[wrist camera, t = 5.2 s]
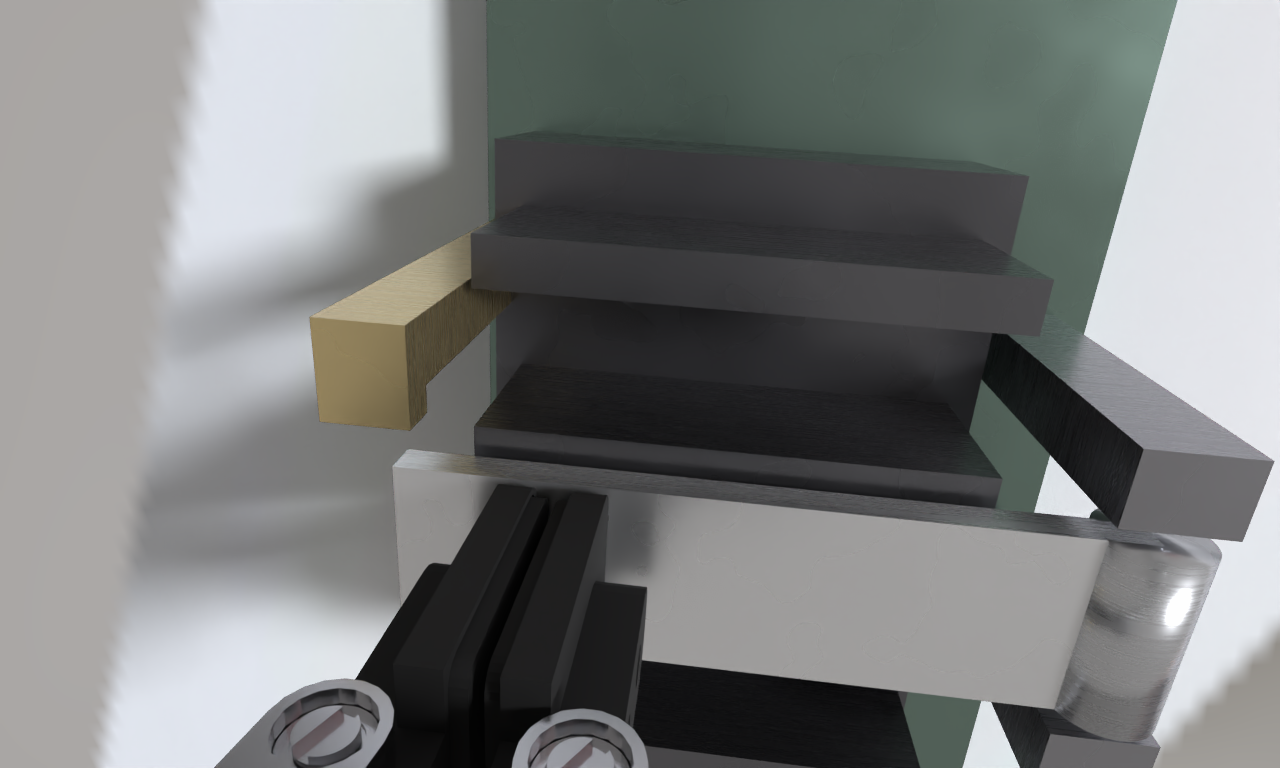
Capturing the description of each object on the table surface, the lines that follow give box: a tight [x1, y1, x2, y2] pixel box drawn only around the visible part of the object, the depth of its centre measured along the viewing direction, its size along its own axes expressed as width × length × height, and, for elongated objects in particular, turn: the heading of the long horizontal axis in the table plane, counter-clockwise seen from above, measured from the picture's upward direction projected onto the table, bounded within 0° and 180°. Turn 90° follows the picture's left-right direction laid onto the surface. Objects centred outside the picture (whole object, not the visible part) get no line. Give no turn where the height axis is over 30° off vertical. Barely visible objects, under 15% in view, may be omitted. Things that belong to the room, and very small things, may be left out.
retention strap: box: [392, 449, 1222, 742], centre depth 12 cm, size 3×12×2 cm, turn 87°
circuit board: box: [310, 0, 1274, 768], centre depth 15 cm, size 24×13×9 cm, turn 177°
